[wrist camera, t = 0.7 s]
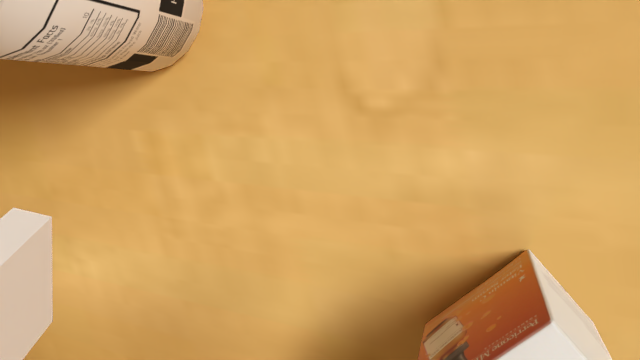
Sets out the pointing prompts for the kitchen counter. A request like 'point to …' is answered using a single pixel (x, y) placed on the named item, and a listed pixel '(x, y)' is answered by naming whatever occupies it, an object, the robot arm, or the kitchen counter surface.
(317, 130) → the kitchen counter surface
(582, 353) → the small box
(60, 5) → the supplement can
